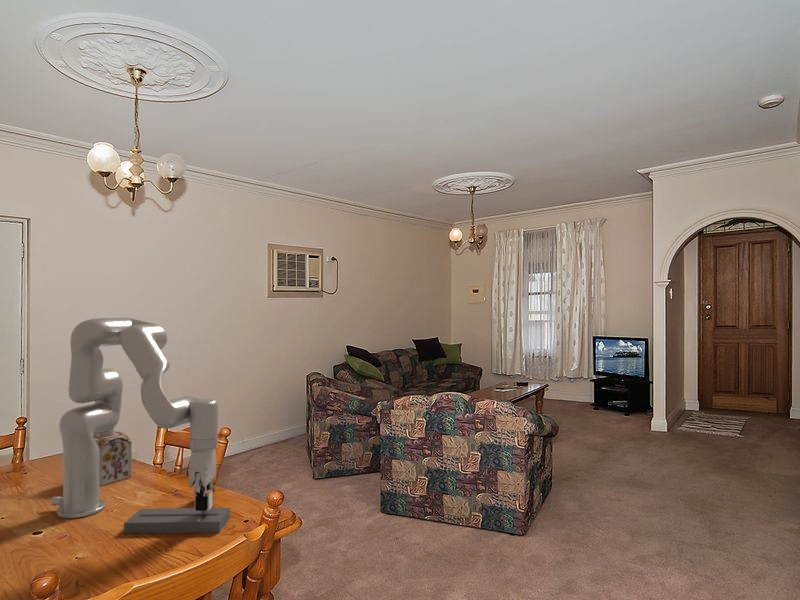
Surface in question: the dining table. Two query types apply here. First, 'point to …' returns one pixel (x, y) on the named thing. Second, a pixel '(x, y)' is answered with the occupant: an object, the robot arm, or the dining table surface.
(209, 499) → the fader
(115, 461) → the decorative jar
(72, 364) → the robot arm
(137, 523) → the console
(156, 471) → the dining table surface
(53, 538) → the dining table surface
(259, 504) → the dining table surface
